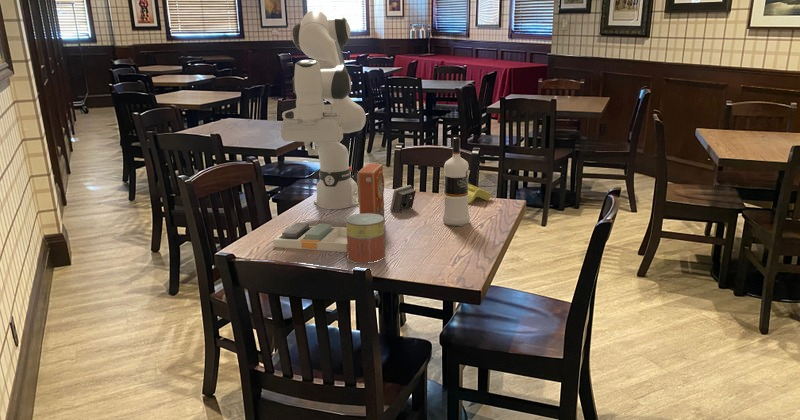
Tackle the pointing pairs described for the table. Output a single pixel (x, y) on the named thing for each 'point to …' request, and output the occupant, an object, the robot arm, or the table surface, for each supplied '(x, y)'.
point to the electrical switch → (403, 199)
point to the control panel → (371, 189)
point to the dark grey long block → (296, 231)
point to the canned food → (365, 237)
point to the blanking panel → (318, 232)
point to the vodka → (456, 188)
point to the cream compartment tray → (317, 241)
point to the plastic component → (477, 193)
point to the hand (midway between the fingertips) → (313, 155)
